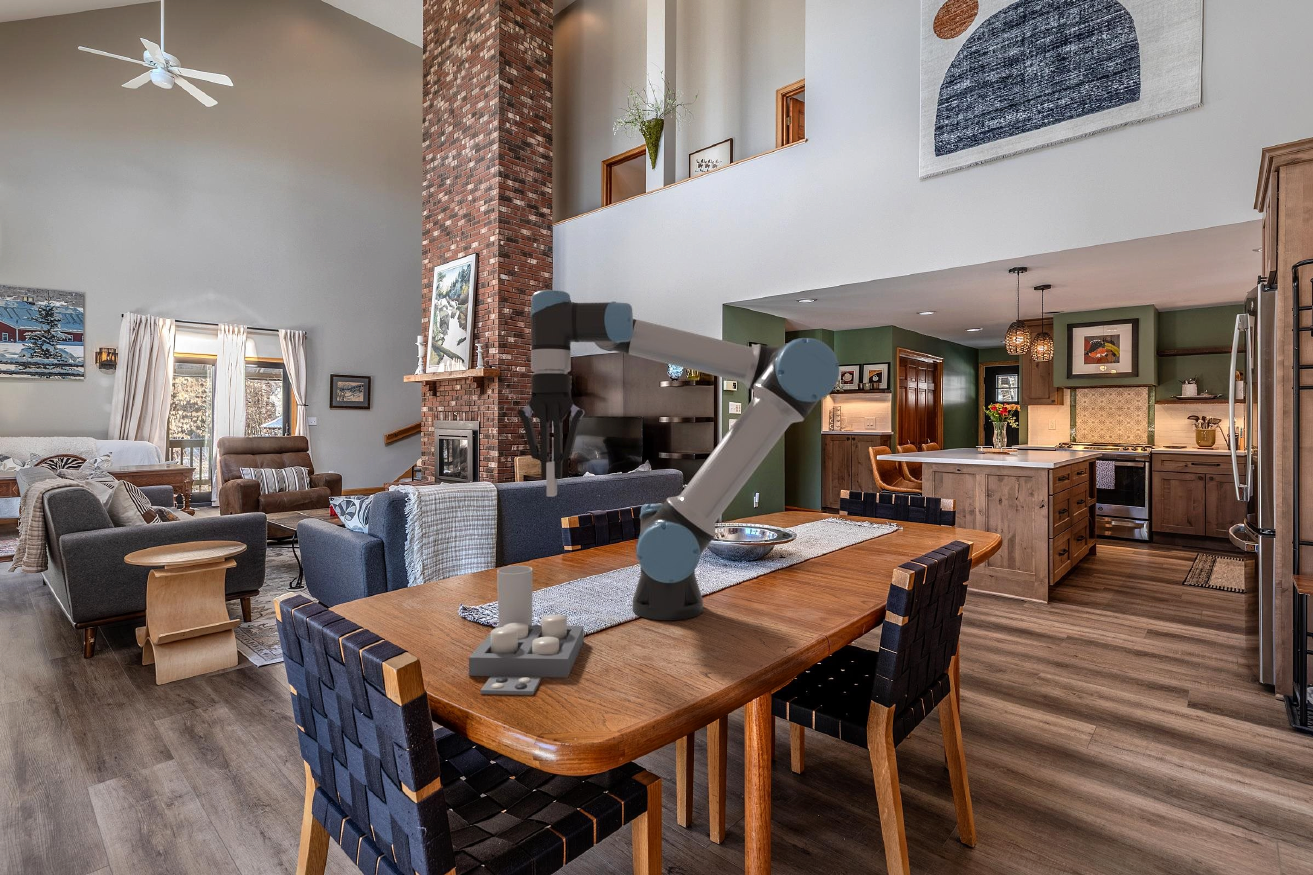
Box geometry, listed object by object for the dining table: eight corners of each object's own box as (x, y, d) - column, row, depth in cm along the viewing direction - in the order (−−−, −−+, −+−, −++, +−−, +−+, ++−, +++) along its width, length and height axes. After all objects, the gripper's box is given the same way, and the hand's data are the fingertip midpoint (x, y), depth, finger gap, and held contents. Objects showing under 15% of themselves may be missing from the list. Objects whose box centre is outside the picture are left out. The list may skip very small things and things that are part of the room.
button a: (568, 634, 115) (568, 614, 115) (564, 642, 111) (564, 622, 111) (544, 633, 116) (544, 614, 116) (539, 642, 111) (539, 622, 111)
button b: (530, 642, 116) (530, 622, 116) (524, 651, 111) (524, 630, 111) (506, 641, 116) (506, 622, 116) (499, 650, 112) (499, 630, 112)
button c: (561, 657, 109) (561, 636, 108) (556, 667, 104) (556, 646, 104) (535, 657, 109) (535, 636, 109) (529, 667, 104) (529, 645, 104)
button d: (520, 647, 109) (520, 626, 109) (513, 657, 104) (513, 635, 104) (495, 647, 109) (495, 626, 109) (487, 657, 105) (487, 635, 104)
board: (583, 641, 118) (583, 625, 118) (567, 677, 102) (567, 658, 102) (498, 640, 118) (498, 624, 118) (469, 675, 102) (468, 657, 102)
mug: (537, 633, 122) (536, 571, 122) (501, 638, 119) (501, 575, 119) (524, 618, 131) (524, 560, 131) (491, 623, 129) (490, 564, 128)
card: (540, 680, 100) (540, 676, 100) (533, 694, 95) (533, 689, 95) (490, 680, 101) (490, 675, 101) (480, 693, 96) (480, 688, 96)
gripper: (587, 374, 126) (588, 493, 127) (522, 374, 126) (523, 493, 127) (581, 371, 118) (582, 498, 119) (512, 372, 119) (513, 498, 120)
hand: (551, 495), depth 123 cm, fingers closed
